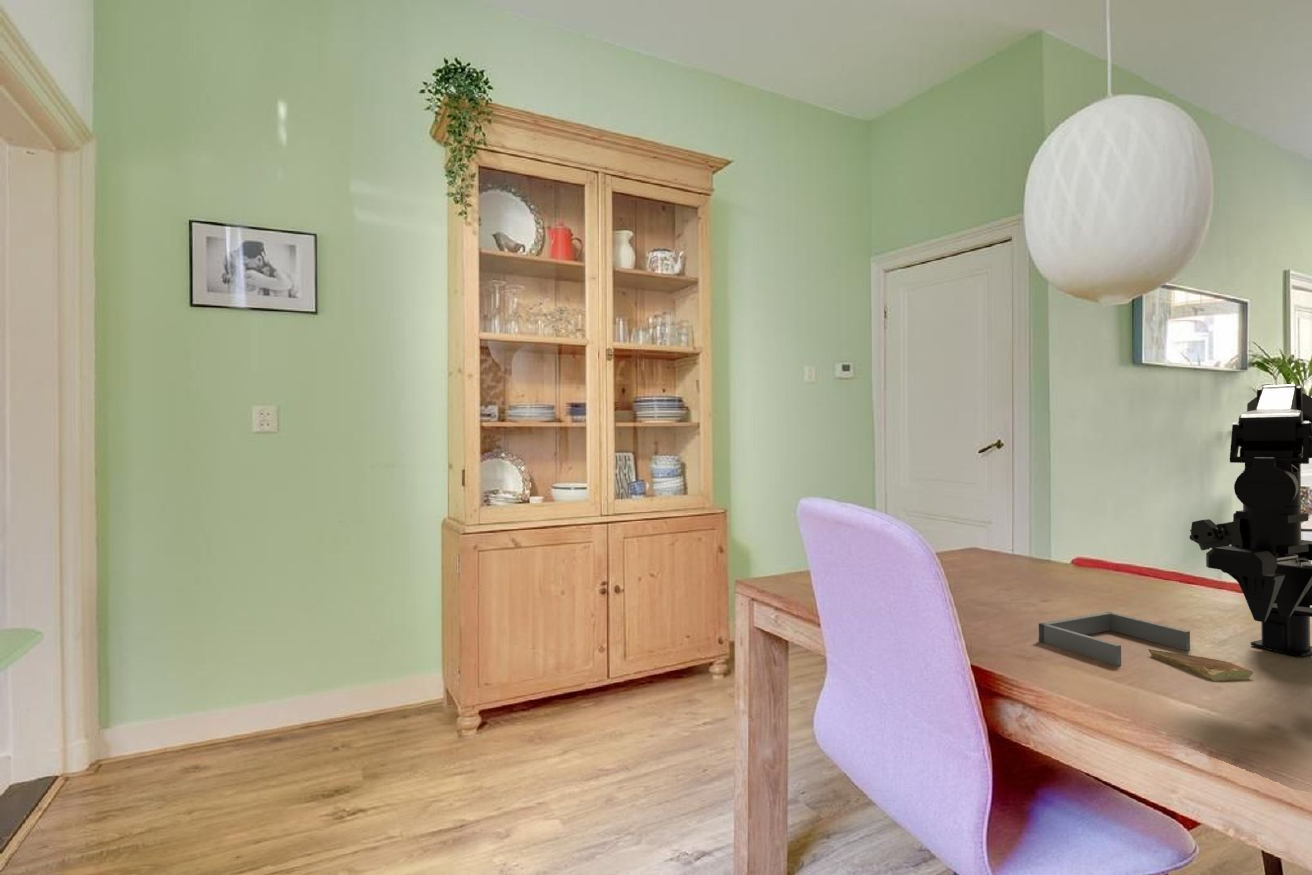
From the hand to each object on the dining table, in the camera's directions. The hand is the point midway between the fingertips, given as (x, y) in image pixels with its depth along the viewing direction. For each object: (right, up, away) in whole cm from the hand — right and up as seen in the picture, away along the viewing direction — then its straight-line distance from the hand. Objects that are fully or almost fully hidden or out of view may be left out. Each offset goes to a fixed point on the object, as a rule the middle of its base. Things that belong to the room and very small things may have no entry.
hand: (1272, 618), depth 88 cm
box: (-8, -10, +20) cm, 24 cm away
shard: (-3, -11, +8) cm, 14 cm away
